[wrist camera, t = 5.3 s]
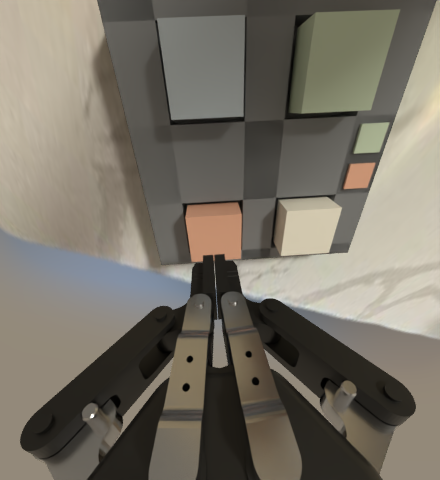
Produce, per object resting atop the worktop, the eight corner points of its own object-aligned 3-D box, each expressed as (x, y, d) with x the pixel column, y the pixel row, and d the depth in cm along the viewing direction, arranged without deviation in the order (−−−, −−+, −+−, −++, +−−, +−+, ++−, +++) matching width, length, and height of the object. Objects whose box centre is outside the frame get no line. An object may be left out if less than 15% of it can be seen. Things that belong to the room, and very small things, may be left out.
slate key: (238, 30, 13) (245, 14, 11) (238, 115, 15) (243, 116, 13) (164, 32, 13) (156, 18, 10) (176, 118, 15) (171, 119, 13)
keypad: (401, 1, 14) (447, -23, 11) (332, 237, 24) (348, 253, 21) (115, 11, 14) (93, -12, 11) (166, 248, 24) (161, 266, 21)
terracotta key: (237, 201, 19) (241, 214, 16) (237, 243, 21) (240, 258, 19) (187, 204, 18) (185, 217, 16) (193, 246, 21) (191, 262, 19)
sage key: (368, 25, 13) (400, 9, 11) (347, 109, 15) (370, 110, 13) (297, 27, 13) (315, 12, 11) (287, 112, 15) (301, 113, 13)
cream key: (326, 196, 19) (342, 207, 17) (316, 238, 21) (328, 252, 19) (278, 199, 19) (287, 211, 17) (273, 241, 21) (280, 256, 19)
